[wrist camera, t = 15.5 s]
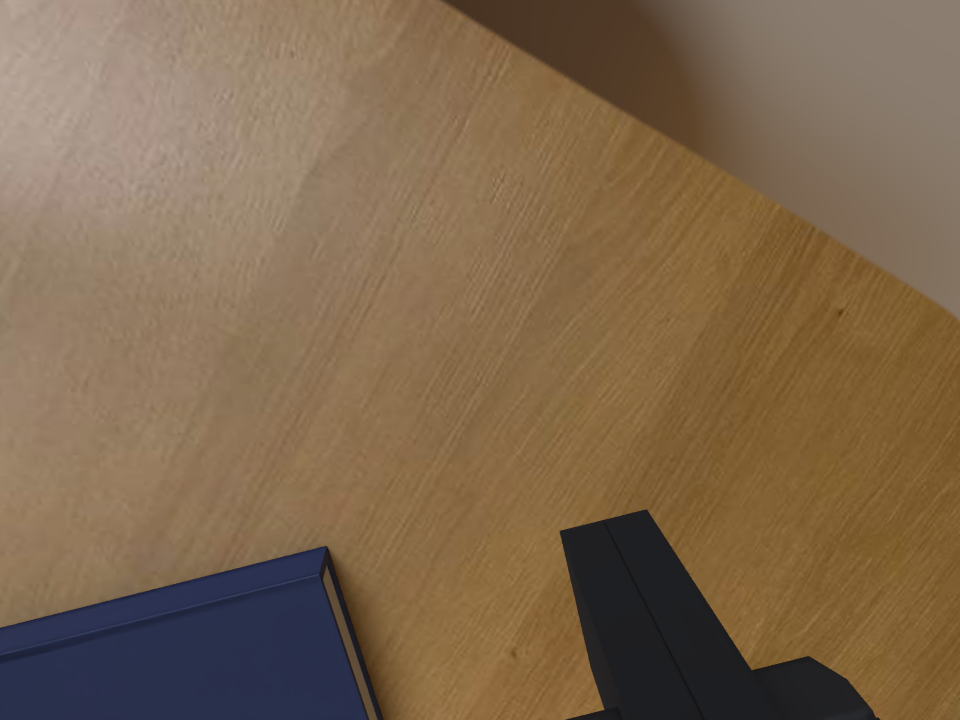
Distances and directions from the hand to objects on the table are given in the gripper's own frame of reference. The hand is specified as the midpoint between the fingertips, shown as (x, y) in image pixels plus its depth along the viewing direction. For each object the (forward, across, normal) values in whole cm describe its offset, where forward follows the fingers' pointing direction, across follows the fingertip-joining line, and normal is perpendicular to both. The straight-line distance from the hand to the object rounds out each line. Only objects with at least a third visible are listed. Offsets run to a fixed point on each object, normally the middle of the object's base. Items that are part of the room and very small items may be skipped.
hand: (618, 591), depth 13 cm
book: (+26, -24, -17) cm, 39 cm away
